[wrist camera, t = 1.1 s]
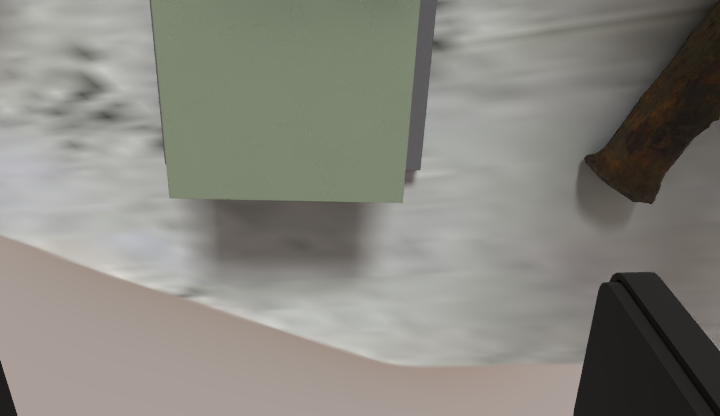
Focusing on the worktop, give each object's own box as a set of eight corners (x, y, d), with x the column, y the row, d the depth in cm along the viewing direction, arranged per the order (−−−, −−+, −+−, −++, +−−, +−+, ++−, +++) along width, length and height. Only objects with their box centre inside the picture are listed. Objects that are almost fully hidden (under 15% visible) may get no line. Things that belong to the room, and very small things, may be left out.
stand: (145, -124, 31) (80, -118, 23) (442, -108, 32) (484, -97, 24) (170, 153, 38) (127, 238, 29) (416, 159, 38) (443, 243, 30)
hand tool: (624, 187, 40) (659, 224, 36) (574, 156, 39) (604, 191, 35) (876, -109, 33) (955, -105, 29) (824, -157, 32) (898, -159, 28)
